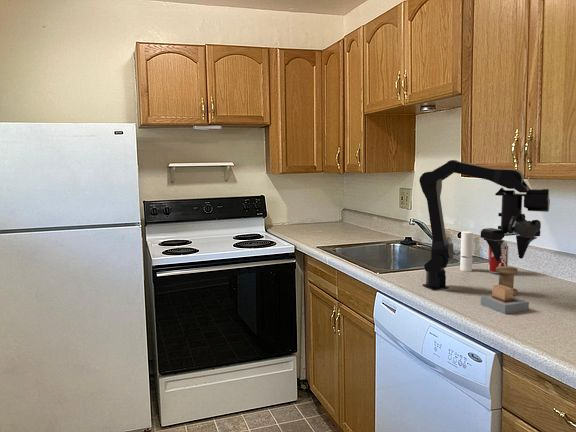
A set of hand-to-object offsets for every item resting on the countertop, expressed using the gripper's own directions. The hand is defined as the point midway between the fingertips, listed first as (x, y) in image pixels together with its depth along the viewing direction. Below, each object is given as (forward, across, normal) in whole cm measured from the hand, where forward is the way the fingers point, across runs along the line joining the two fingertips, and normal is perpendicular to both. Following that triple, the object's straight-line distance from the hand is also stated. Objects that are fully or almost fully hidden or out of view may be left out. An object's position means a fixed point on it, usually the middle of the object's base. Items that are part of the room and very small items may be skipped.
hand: (509, 259), depth 154 cm
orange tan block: (+12, -9, -7) cm, 17 cm away
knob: (+12, +3, +4) cm, 13 cm away
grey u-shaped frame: (+12, -9, -7) cm, 17 cm away
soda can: (+12, +20, +26) cm, 35 cm away
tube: (+12, +12, +34) cm, 38 cm away
